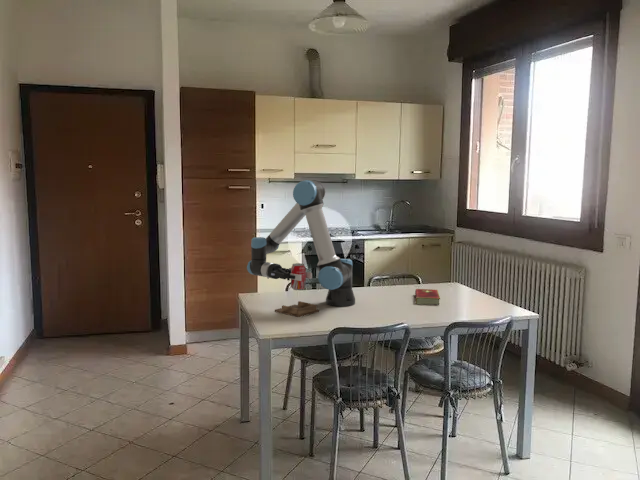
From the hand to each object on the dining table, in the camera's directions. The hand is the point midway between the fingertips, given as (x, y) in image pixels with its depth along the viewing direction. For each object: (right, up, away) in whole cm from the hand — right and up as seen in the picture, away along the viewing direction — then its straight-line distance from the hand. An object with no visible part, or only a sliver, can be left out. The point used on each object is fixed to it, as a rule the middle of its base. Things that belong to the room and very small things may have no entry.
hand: (306, 276), depth 247 cm
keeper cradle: (-4, -17, +5) cm, 18 cm away
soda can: (-4, -6, +4) cm, 9 cm away
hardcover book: (+63, -15, +32) cm, 73 cm away
